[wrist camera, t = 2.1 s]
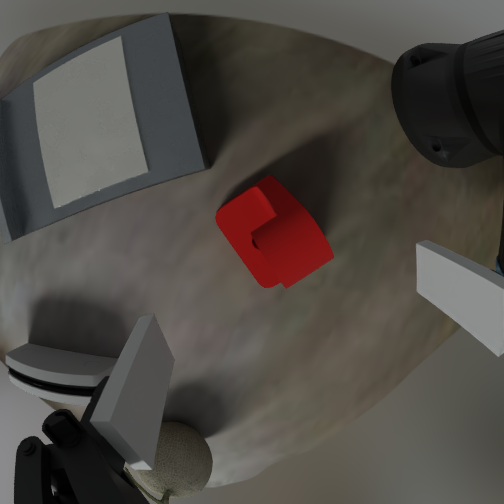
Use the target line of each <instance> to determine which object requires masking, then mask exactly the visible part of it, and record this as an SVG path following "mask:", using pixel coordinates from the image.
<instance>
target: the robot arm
mask: <svg viewBox="0 0 504 504" xmlns="http://www.w3.org/2000/svg"><path fill="white" fill-rule="evenodd" d="M391 87H392V98H393V103H394V107H395V111H396V114H397V117H398V119H399V122H400V124H401V126H402V128H403V130H404V132H405V134H406V135H407V137H408V139H409V140H410V142H411V143H412V144H413V146H414V147H415V148H416V149H417V150H418V151H419V152H420V153H421V154H422V155H423V156H424V157H425V158H427V159H428V160H429V161H431V162H433V163H434V164H437V165H439V166H443V167H450V168H466V167H469V166H472V165H474V164H477V163H479V162H482V161H484V160H487V159H489V158H491V157H494V156H496V155H503V157H504V30H501V31H498V32H495V33H492V34H489V35H486V36H483V37H480V38H478V39H475V40H473V41H470V42H467V43H464V44H443V43H426V44H421V45H418V46H416V47H414V48H412V49H410V50H408V51H407V52H405V53H404V54H402V55H401V56H400V58H399V59H398V61H397V62H396V64H395V67H394V70H393V74H392V86H391ZM416 253H417V292H418V293H419V294H421V295H422V296H423V297H425V298H426V299H427V300H429V301H430V302H431V303H433V304H434V305H435V306H437V307H438V308H439V309H440V310H442V311H443V312H444V313H446V314H447V315H448V316H449V317H451V318H452V319H453V320H455V321H456V322H457V323H458V324H460V325H461V326H462V327H463V328H465V329H466V330H467V331H468V332H470V333H471V334H472V335H473V336H474V337H476V338H477V339H478V340H479V341H480V342H482V343H483V344H484V345H485V346H486V347H488V348H489V349H490V350H491V351H492V352H493V353H494V354H496V355H497V356H498V357H499V356H500V355H502V354H503V353H504V202H503V218H502V230H501V239H500V247H499V254H498V256H497V258H496V271H494V270H490V269H488V268H486V267H484V266H482V265H480V264H478V263H476V262H474V261H472V260H470V259H468V258H465V257H463V256H461V255H459V254H457V253H455V252H453V251H451V250H449V249H446V248H444V247H442V246H440V245H438V244H435V243H433V242H431V241H429V240H425V241H422V242H419V243H416ZM174 361H175V359H174V357H173V355H172V353H171V351H170V349H169V347H168V344H167V342H166V340H165V338H164V336H163V333H162V331H161V329H160V327H159V324H158V322H157V320H156V317H155V315H154V314H150V315H145V316H141V317H139V319H138V321H137V323H136V325H135V327H134V329H133V330H132V332H131V334H130V336H129V338H128V340H127V342H126V344H125V346H124V348H123V350H122V352H121V354H120V356H119V358H118V360H117V362H116V364H115V367H114V369H113V371H112V373H111V375H110V376H105V377H104V378H103V379H102V380H101V382H100V383H99V384H98V385H97V387H96V389H95V391H94V393H93V394H94V395H92V397H91V399H90V403H88V406H87V408H86V410H85V412H84V414H83V416H82V419H81V421H80V422H79V421H78V420H77V419H76V417H75V416H74V415H73V414H72V412H71V411H70V410H67V409H59V410H57V411H54V412H53V413H51V414H50V415H49V416H48V417H47V418H46V419H45V421H44V423H43V425H42V431H43V432H44V433H45V435H46V436H47V437H48V438H49V439H50V440H51V441H52V442H53V444H48V445H45V444H44V443H43V442H42V441H41V440H40V439H39V438H38V437H36V436H30V437H28V438H26V439H24V440H22V442H21V443H20V445H19V446H18V449H17V453H16V463H15V464H16V465H15V480H14V504H150V503H149V502H148V501H147V499H146V498H145V497H144V495H143V494H142V493H141V491H140V490H139V489H138V487H137V486H136V485H135V483H134V482H133V480H132V479H131V477H130V476H129V474H128V473H127V472H126V471H125V470H124V469H123V468H124V464H125V461H126V462H127V463H128V464H129V465H130V466H131V467H132V468H133V469H136V470H153V465H154V459H155V453H156V448H157V442H158V437H159V432H160V427H161V421H162V416H163V411H164V407H165V402H166V397H167V392H168V388H169V383H170V378H171V374H172V370H173V365H174ZM52 489H53V490H54V496H53V493H52Z"/></svg>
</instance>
